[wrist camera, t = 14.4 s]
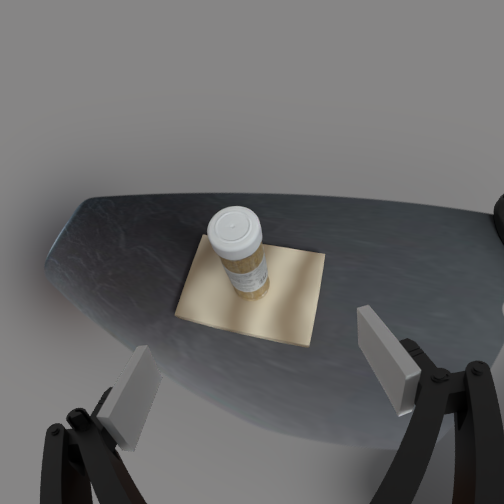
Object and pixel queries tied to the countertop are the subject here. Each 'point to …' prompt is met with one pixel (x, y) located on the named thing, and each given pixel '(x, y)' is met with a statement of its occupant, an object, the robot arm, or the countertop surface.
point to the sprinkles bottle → (240, 250)
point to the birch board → (260, 311)
